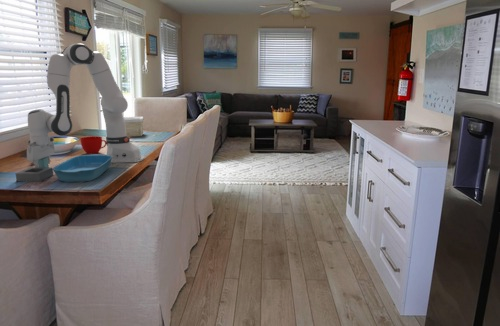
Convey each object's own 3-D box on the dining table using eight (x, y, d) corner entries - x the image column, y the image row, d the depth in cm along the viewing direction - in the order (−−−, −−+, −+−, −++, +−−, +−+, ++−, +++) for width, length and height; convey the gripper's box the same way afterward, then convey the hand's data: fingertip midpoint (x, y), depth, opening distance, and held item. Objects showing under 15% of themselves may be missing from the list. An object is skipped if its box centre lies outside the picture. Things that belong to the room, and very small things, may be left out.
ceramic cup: (101, 155, 254) (100, 140, 251) (77, 154, 257) (75, 139, 254) (112, 151, 266) (111, 136, 264) (89, 150, 269) (87, 136, 267)
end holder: (53, 175, 209) (52, 167, 208) (40, 181, 197) (39, 173, 196) (31, 174, 210) (30, 167, 209) (16, 181, 198) (15, 173, 197)
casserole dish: (94, 184, 192) (92, 170, 191) (47, 185, 192) (45, 170, 191) (117, 166, 228) (116, 153, 227) (78, 166, 228) (77, 154, 226)
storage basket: (111, 137, 319) (110, 119, 315) (115, 134, 334) (113, 116, 331) (142, 137, 322) (141, 118, 319) (144, 133, 338) (143, 116, 334)
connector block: (49, 170, 219) (47, 157, 217) (45, 172, 215) (43, 159, 214) (42, 170, 219) (40, 157, 218) (37, 172, 215) (36, 159, 214)
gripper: (33, 144, 203) (37, 170, 206) (55, 137, 223) (58, 161, 226) (21, 144, 203) (25, 170, 207) (44, 137, 223) (47, 161, 227)
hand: (42, 166), depth 217 cm, fingers open, 8 cm apart
